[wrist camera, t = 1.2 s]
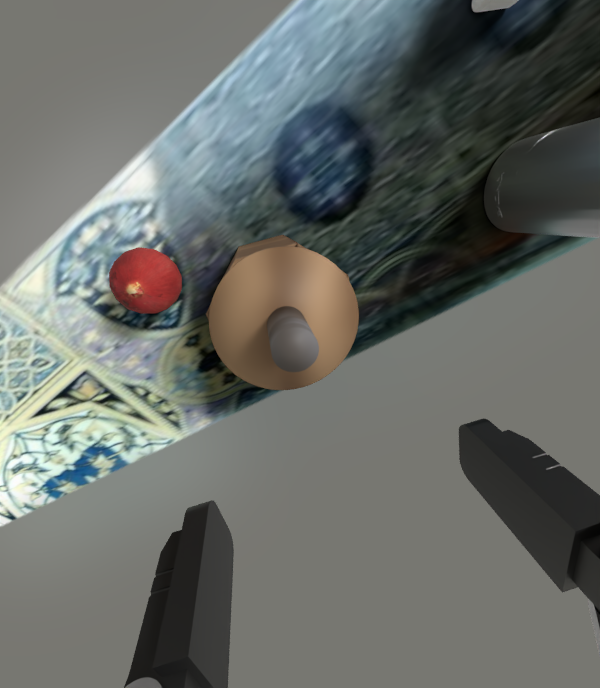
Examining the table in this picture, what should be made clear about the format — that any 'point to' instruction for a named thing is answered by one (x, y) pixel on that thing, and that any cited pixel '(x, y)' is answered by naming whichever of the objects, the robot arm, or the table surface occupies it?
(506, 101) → the table surface
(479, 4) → the pepper shaker
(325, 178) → the table surface
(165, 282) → the onion
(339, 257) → the table surface
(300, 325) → the tan jar with knob
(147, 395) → the table surface
